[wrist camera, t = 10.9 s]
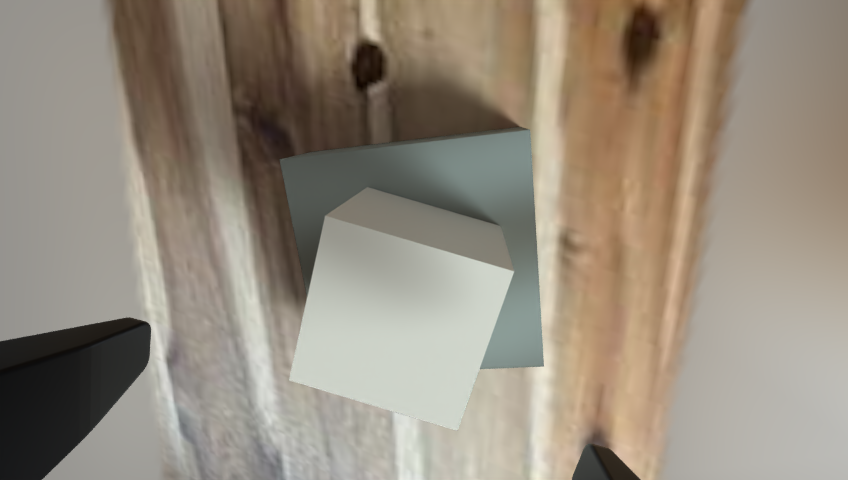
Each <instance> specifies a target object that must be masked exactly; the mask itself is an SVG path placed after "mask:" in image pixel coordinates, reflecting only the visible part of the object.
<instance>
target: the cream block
mask: <svg viewBox="0 0 848 480" xmlns="http://www.w3.org/2000/svg"><path fill="white" fill-rule="evenodd" d="M513 274H514V269H513V266H512V262H511V259H510V256H509V252H508V249H507V246H506V243H505V239H504V236H503V233H502V229H501V226H499V225H495V224H492V223H489V222H485V221H482V220H478V219H475V218H471V217H468V216H465V215H461V214H458V213H454V212H451V211H448V210H444V209H441V208H437V207H434V206H430V205H427V204H424V203H420V202H417V201H413V200H410V199H407V198H403V197H400V196H396V195H393V194H389V193H386V192H383V191H379V190H376V189H372V188H369V187H367V188H365V189H364V190H362V191H361V192H359V193H358V194H357V195H355V196H354V197H352V198H351V199H349V200H348V201H346V202H345V203H343V204H342V205H340V206H339V207H337V208H336V209H334V210H333V211H331V212H330V213H329V214H327V215H326V216H325V219H324V224H323V228H322V233H321V237H320V242H319V246H318V251H317V255H316V260H315V265H314V269H313V274H312V278H311V283H310V287H309V292H308V296H307V301H306V306H305V310H304V315H303V319H302V324H301V328H300V333H299V337H298V342H297V347H296V351H295V356H294V360H293V365H292V369H291V374H290V378H289V380H290V381H293V382H297V383H300V384H303V385H307V386H310V387H313V388H317V389H320V390H323V391H326V392H330V393H333V394H336V395H340V396H343V397H346V398H350V399H353V400H356V401H360V402H363V403H366V404H370V405H373V406H376V407H380V408H383V409H386V410H389V411H393V412H396V413H399V414H403V415H406V416H409V417H413V418H416V419H419V420H423V421H426V422H429V423H433V424H436V425H439V426H442V427H446V428H449V429H452V430H456V431H458V428H459V425H460V422H461V420H462V417H463V414H464V411H465V408H466V406H467V403H468V400H469V397H470V394H471V392H472V389H473V386H474V383H475V380H476V377H477V375H478V372H479V369H480V366H481V363H482V361H483V358H484V355H485V352H486V349H487V347H488V344H489V341H490V338H491V335H492V333H493V330H494V327H495V324H496V321H497V318H498V316H499V313H500V310H501V307H502V304H503V302H504V299H505V296H506V293H507V290H508V288H509V285H510V282H511V279H512V276H513Z"/></svg>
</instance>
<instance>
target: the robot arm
mask: <svg viewBox="0 0 848 480" xmlns="http://www.w3.org/2000/svg"><path fill="white" fill-rule="evenodd" d="M150 339H151V327H150V325H149V323H147V322H145V321H141V320H137V319H134V318H122V319H117V320H112V321H106V322H101V323H96V324H90V325H85V326H80V327H74V328H70V329H64V330H58V331H53V332H48V333H43V334H37V335H32V336H27V337H21V338H17V339H11V340H6V341H0V480H42V479H43V478H44V477H45V476H46V475H47V474H48V473H49V472H50V471H51V470H52V469H53V468H54V467H55V466H56V465H57V464H58V463H59V462H60V461H61V460H63V458H65V456H67V455H68V453H70V452H71V451H72V450H73V449H74V448H75V447H76V446H77V445H78V444H79V443H80V442H81V441H82V440H83V439H84V438H85V437H86V436H87V435H88V434H89V433H90V432H91V431H92V430H93V428H94V427H95V426H96V425H97V424H98V423H99V422H100V421H101V419H102V418H103V417H104V416H105V415H106V414H107V412H108V411H109V410H110V409H111V408H112V407H113V405H114V404H115V403H116V402H117V401H118V400H119V398H120V397H121V396H122V395H123V394H124V393H125V391H126V390H127V389H128V388H129V387H130V386H131V384H132V383H133V382H134V381H135V380H136V378H137V377H138V376H139V375H140V374H141V372H143V370H144V369H145V367H146V366H147V364H148V361H149V356H150ZM572 480H640V479H639V478H638V477H637V476H636V475H635V474H634V473H633V472H632V471H631V470H630V469H629V468H628V467H627V466H626V465H625V464H624V463H623V462H622V461H621V460H620V458H619V457H618V456H617V455H616V454H615V453H614V452H613V451H612V450H610V449H609V448H606V447H603V446H599V445H595V444H591V443H590V444H587V445H586V446H585V448H584V450H583V452H582V454H581V457H580V459H579V462H578V464H577V467H576V469H575V472H574V474H573V477H572Z"/></svg>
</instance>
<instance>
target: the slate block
mask: <svg viewBox="0 0 848 480" xmlns="http://www.w3.org/2000/svg"><path fill="white" fill-rule="evenodd" d="M280 164H281V169H282V174H283V179H284V184H285V189H286V194H287V199H288V204H289V209H290V214H291V219H292V224H293V229H294V234H295V239H296V244H297V249H298V254H299V259H300V264H301V269H302V274H303V279H304V284H305V289H306V294H307V296H308V292H309V287H310V283H311V278H312V274H313V269H314V265H315V260H316V255H317V251H318V246H319V242H320V237H321V233H322V228H323V224H324V219H325V216H326V215H327V214H329V213H330V212H331V211H333V210H334V209H336V208H337V207H339V206H340V205H342V204H343V203H345V202H346V201H348V200H349V199H351V198H352V197H354V196H355V195H357V194H358V193H359V192H361V191H362V190H364V189H365V188H367V187H369V188H372V189H376V190H379V191H383V192H386V193H389V194H393V195H396V196H400V197H403V198H407V199H410V200H413V201H417V202H420V203H424V204H427V205H430V206H434V207H437V208H441V209H444V210H448V211H451V212H454V213H458V214H461V215H465V216H468V217H471V218H475V219H478V220H482V221H485V222H489V223H492V224H495V225H499V226H501V229H502V233H503V236H504V239H505V243H506V246H507V249H508V252H509V256H510V259H511V262H512V266H513V269H514V274H513V276H512V279H511V282H510V285H509V288H508V290H507V293H506V296H505V299H504V302H503V304H502V307H501V310H500V313H499V316H498V318H497V321H496V324H495V327H494V330H493V333H492V335H491V338H490V341H489V344H488V347H487V349H486V352H485V355H484V358H483V361H482V363H481V366H480V369H495V368H518V367H541V366H544V361H543V344H542V327H541V309H540V292H539V275H538V258H537V241H536V223H535V206H534V189H533V172H532V155H531V137H530V130H529V129H526V128H522V127H515V128H507V129H498V130H490V131H481V132H473V133H465V134H456V135H448V136H439V137H431V138H423V139H414V140H406V141H397V142H389V143H381V144H372V145H364V146H355V147H347V148H339V149H330V150H322V151H314V152H309V153H305V154H301V155H296V156H292V157H287V158H283V159H280Z"/></svg>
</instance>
